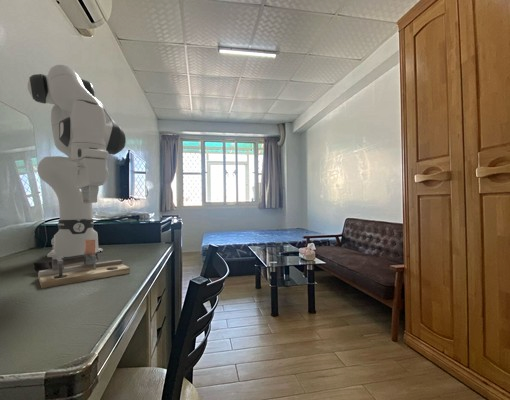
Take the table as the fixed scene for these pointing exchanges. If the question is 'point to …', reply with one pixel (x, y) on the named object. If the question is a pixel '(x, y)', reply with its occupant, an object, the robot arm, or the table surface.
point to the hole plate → (79, 272)
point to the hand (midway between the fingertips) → (89, 203)
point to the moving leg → (89, 252)
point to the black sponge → (67, 262)
